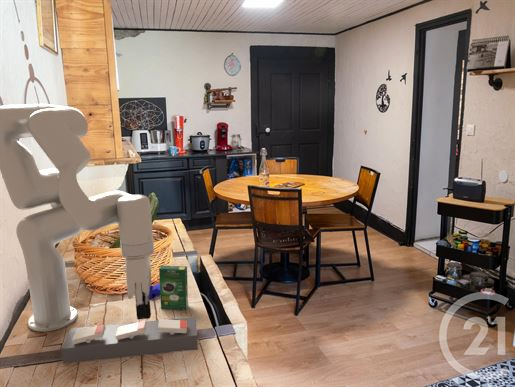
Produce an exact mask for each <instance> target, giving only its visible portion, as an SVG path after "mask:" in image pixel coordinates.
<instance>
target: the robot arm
mask: <svg viewBox="0 0 515 387" xmlns="http://www.w3.org/2000/svg"><path fill="white" fill-rule="evenodd" d="M88 130H89V125H88V120H87V119H86V117H85V115H84V114H83V113H82V112H81V111H80V110H79V109H78V108H74V107H71V106H64V105H55V104H46V103H37V104H36V103H33V104H31V103H29V104H7V105H0V174H1V176H2V179H3V183H4V184H5V187H6V190H7V192H8V193H7V194H8V195H9V198H10V200H11V203H12V204H13V205H14V207H16V209H18V210H20V211H22V210H23V211H24V210H31V209H33V210H34V209H36V208H40V207H43V206H47V205H50V206H51V207H50V208H49V209H44V210H41V211H39V212H35V213H32V214H29V215H27V216H25V217H23V218H22V219H21V220H20V221H19V222H18V224H17V226H16V230H15V231H16V232H15V233H16V237H17V239H18V242H19V244H20V248H21V250H22V254H23V259H24V263H25V269H26V270H25V271H26V275H27V281H28V282H27V283H28V290H29V293H30V294H29V295H30V301H31V307H32V308H31V309H32V315H31V316H30V317H29V318H28V320H27V324H28V325H27V326H28V327H29V329H30V330H32V331H34V332H35V331H36V332H41V333H42V332H52V331H56V330H60V329H62V328H65V327H67V326H68V325H71V324H72V323H73V322H74V321H75V320H76V319H77V317H78V311H77V309H76V307H73V306H71V302H70V293H69V285H68V277H67V270H66V264H65V257H64V256H63V254H62V253H61V252H60V251H59V250H58V249H57V248H56V244H59V243H61V242H63V241H65V240H68V239H71V238H74V237H75V236H78V235H79V234H80V233H81V232H82V231H83V230H85V231H89V232H94V231H98V230H100V229H102V228H105V227H107V226H111V225H113V224H117V223H118V232H119V233H118V234H119V242H120V243H119V244H120V251H121V256H122V257H123V258H125V275H126V276H125V278H126V293H127V298H128V299H129V300H131V299H133V297H135V310H136V312H135V313H136V319H137V320H145V319H150V318H151V315H152V311H151V310H152V309H151V301H150V300H149V292H150V286H152V268H151V257H150V256H152V255H153V254H154V253H155V245H154V234H153V233H154V232H153V230H154V229H153V222H152V220H153V219H152V209H151V208H152V207H151V200H150V199H149V197H148V196H146V195H144V194H130V193H128V192H126V191H123V190H111V191H108V192H104V193H100V194H98V195H94V196H90V197H88V196H87V194H86V193H85V192H84V191H83V189H82V187H81V186H80V185H79V182H78V178H77V177H78V176H77V175H78V174H79V173H80V172H81V171H82V170H83V169H85V168H86V166H88V164H89V163H90V161H91V158H92V155H91V152H90V150H89V149H88V148H87V147H86V146H85V144H84V143H83V141H81V139H84V137H85V136H86V135H87V133H88ZM27 138H33V140H35V141H36V143H37V144H38V145H39V147H40V149H41V150H42V151H43V153H45V155H46V157H47V158H48V159H49V160H50V161H51V164H52V165H53V166H54V167H55V168H47V169H46V168H45V169H42V170H40V169H39V168H38V166H37V163H36V160H35V158H34V155H33V153H32V152H31V151H30V150H29V149H28V148H27V147H26V146H25V145H24V144H22V143H21V142H20V141H18V140H19V139H27Z"/></svg>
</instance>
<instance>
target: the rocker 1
mask: <svg viewBox="0 0 515 387" xmlns="http://www.w3.org/2000/svg"><path fill="white" fill-rule="evenodd" d="M105 325H106V324H105V323H102V324H99V325H93V326H94V327H91V326H89V327H90V328H86V329H82V330H78V331H76V332H75V334H74V337H73V339H72V342H73V344H77V343H81V342H85V341H86V342H87V343H90V342H91V340H93V339H97V338H101V337H103V335H104V332H105V329H106V327H105Z"/></svg>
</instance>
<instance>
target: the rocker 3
mask: <svg viewBox="0 0 515 387" xmlns="http://www.w3.org/2000/svg"><path fill="white" fill-rule="evenodd" d="M158 320H159V324H158V332H170V334H171V335H173V334H174V333H186V332H187V321H186V320H168V319H167V318H166V319H165V318H159V319H158Z"/></svg>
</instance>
